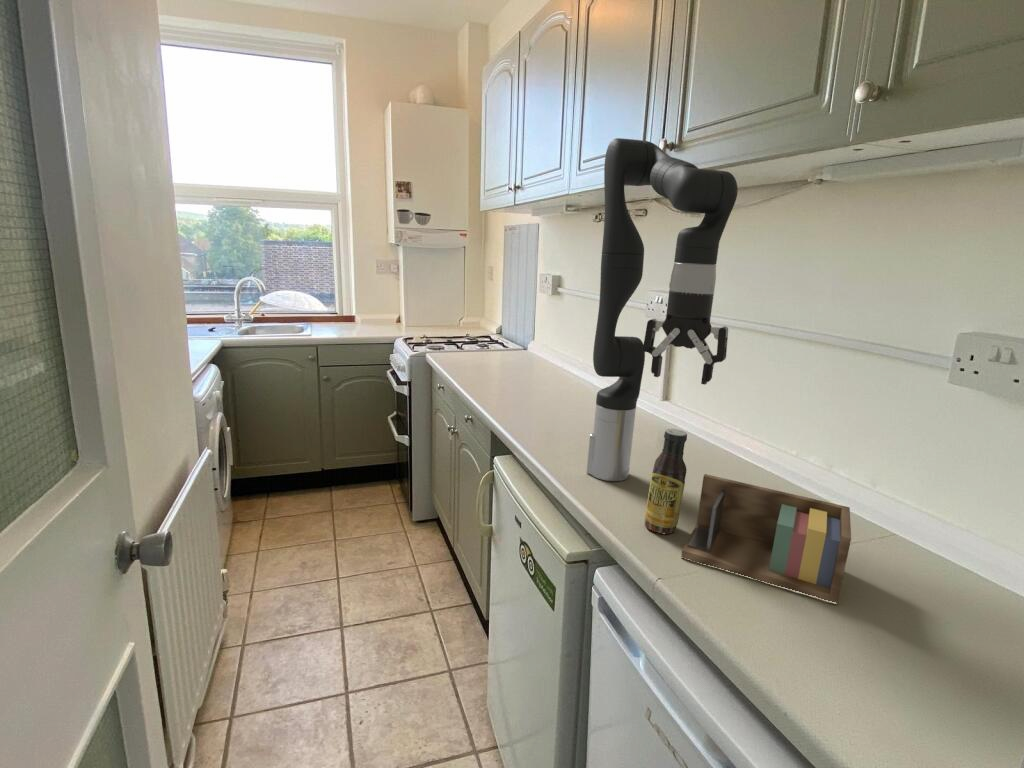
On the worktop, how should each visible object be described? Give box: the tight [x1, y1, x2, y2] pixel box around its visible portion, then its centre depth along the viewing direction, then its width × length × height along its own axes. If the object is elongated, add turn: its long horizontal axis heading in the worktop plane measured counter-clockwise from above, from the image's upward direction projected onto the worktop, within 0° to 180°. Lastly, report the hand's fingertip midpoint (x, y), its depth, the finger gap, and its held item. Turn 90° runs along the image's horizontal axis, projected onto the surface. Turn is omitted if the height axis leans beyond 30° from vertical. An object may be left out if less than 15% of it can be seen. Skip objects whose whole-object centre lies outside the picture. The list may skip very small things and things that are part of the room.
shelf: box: [680, 473, 852, 604], centre depth 97 cm, size 24×13×12 cm, turn 60°
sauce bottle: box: [644, 428, 688, 535], centre depth 107 cm, size 7×6×20 cm
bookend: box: [688, 490, 725, 553], centre depth 102 cm, size 4×9×8 cm, turn 150°
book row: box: [769, 504, 840, 588], centre depth 94 cm, size 9×9×9 cm
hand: (680, 379), depth 102 cm, fingers open, 8 cm apart
